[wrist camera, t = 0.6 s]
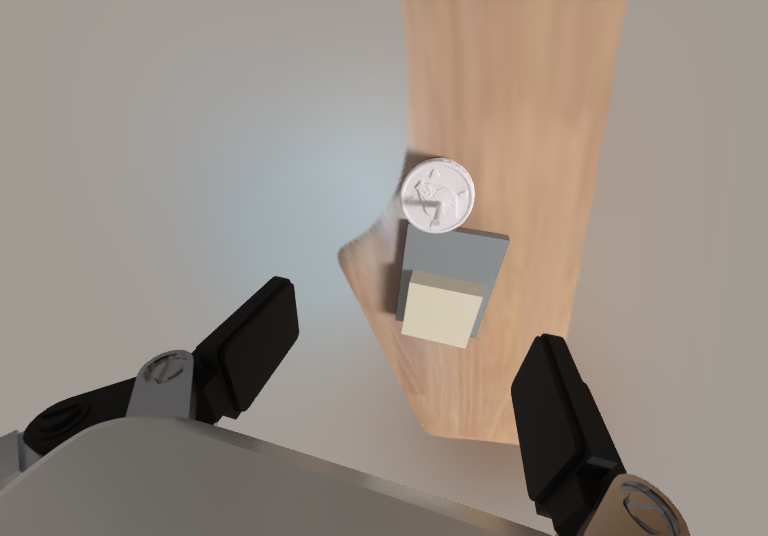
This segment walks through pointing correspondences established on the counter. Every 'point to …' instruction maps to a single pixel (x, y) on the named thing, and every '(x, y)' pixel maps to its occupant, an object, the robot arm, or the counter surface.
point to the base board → (453, 260)
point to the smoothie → (437, 195)
